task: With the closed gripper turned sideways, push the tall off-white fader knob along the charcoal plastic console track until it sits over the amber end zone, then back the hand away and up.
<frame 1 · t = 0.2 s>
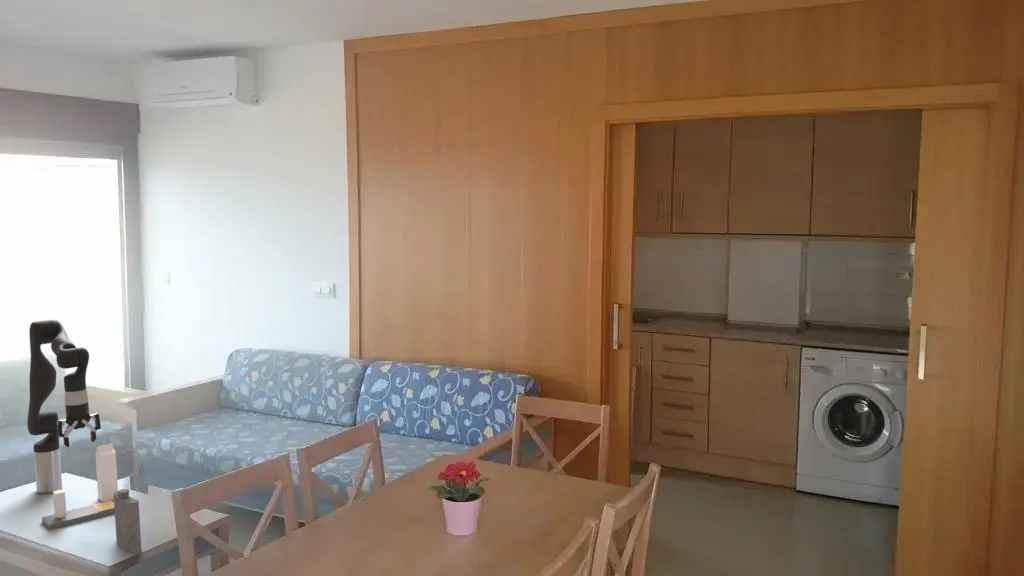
hand: (80, 443, 299), 29 cm above the table, tool pointing down, fingers open, 8 cm apart
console: (84, 516, 305), on the table
hip flask: (127, 546, 278), on the table
milk: (108, 498, 324), on the table
fader: (59, 503, 298), point 7 cm above the table, slide at 0.0 cm
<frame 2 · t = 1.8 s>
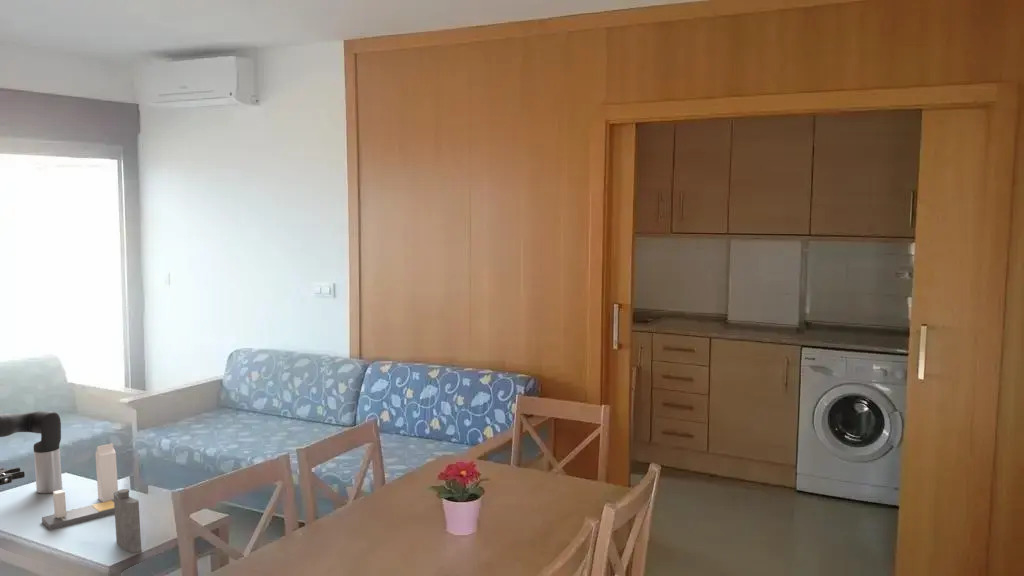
hand: (21, 472, 289), 22 cm above the table, tool horizontal, fingers open, 5 cm apart
nothing on the table moved.
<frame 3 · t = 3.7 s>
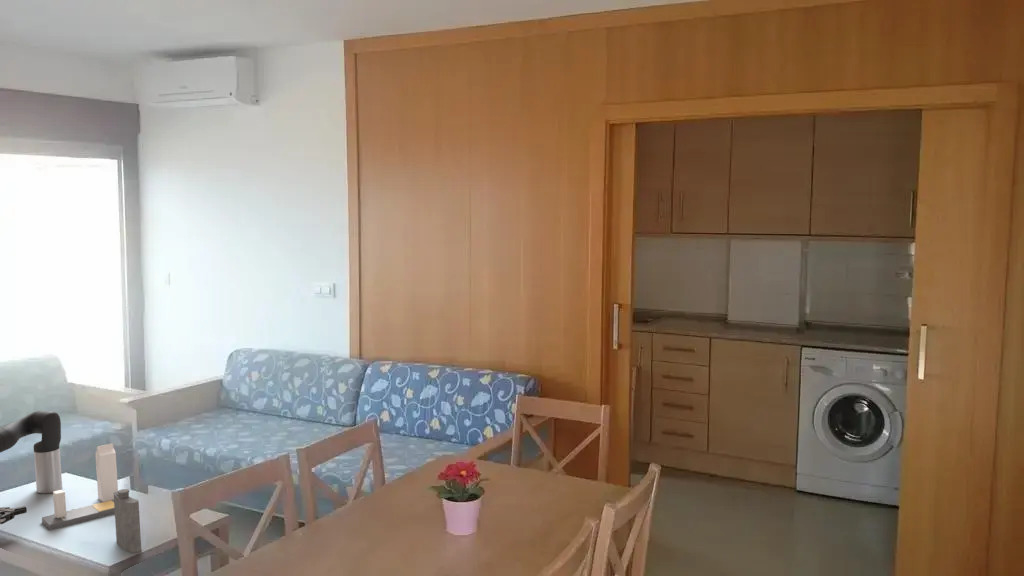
hand: (26, 509, 291), 8 cm above the table, tool horizontal, fingers closed
nothing on the table moved.
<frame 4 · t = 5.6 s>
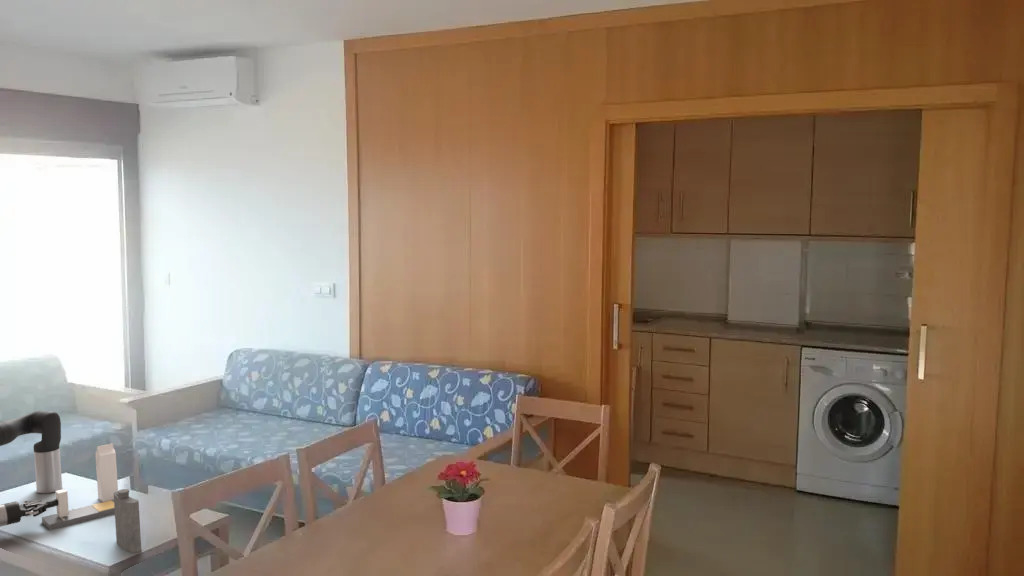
hand: (57, 502, 298), 8 cm above the table, tool horizontal, fingers closed
fader: (62, 503, 299), point 7 cm above the table, slide at 0.8 cm, touching gripper
everything else where it was.
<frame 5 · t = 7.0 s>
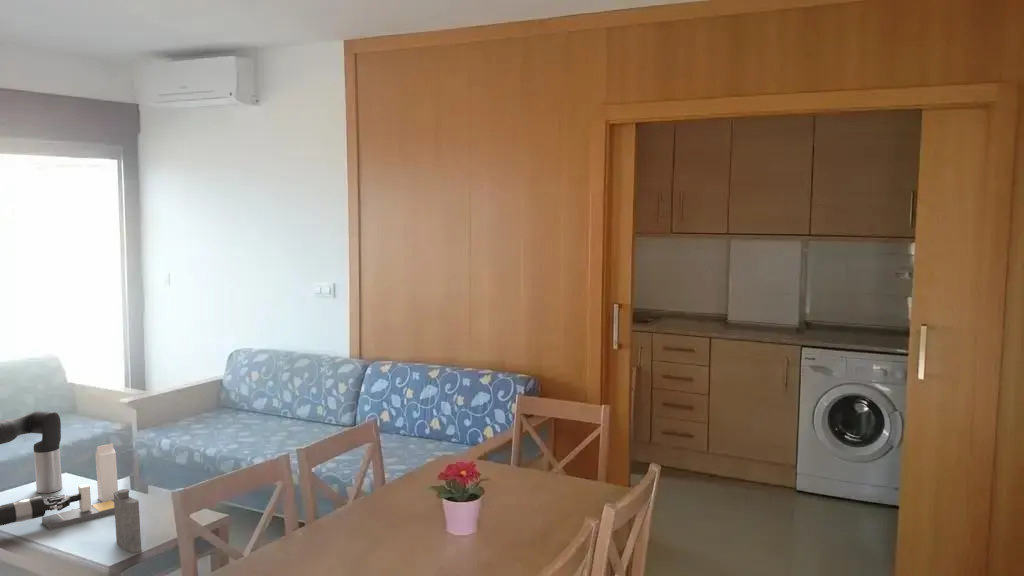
hand: (80, 496, 303), 8 cm above the table, tool horizontal, fingers closed
fader: (84, 497, 304), point 7 cm above the table, slide at 8.6 cm, touching gripper
everything else where it was.
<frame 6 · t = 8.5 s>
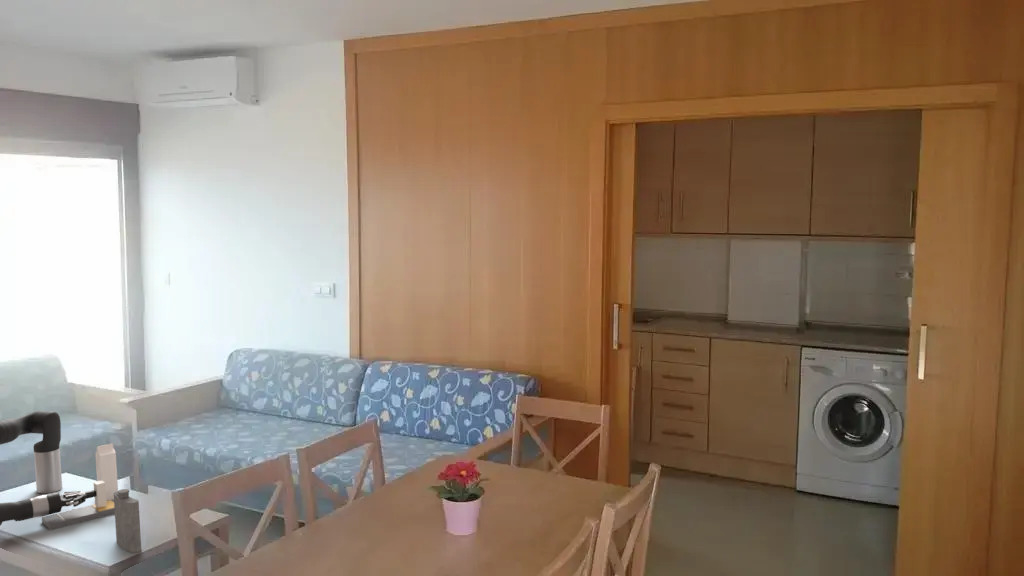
hand: (95, 493, 307), 8 cm above the table, tool horizontal, fingers closed
fader: (100, 494, 308), point 7 cm above the table, slide at 14.0 cm, touching gripper
everything else where it was.
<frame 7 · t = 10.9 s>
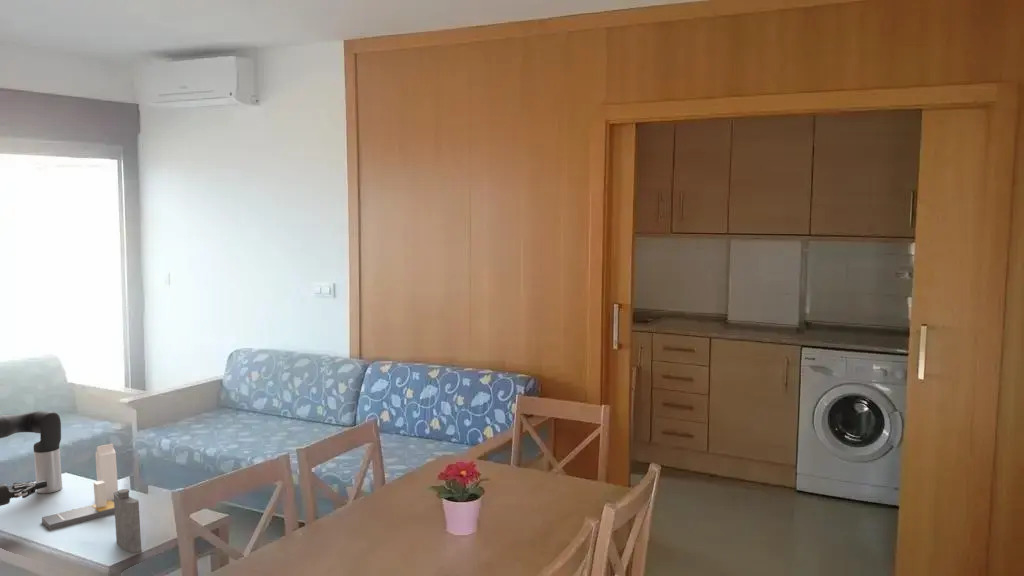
hand: (46, 483, 298), 15 cm above the table, tool horizontal, fingers closed
fader: (100, 494, 308), point 7 cm above the table, slide at 14.0 cm
everything else where it was.
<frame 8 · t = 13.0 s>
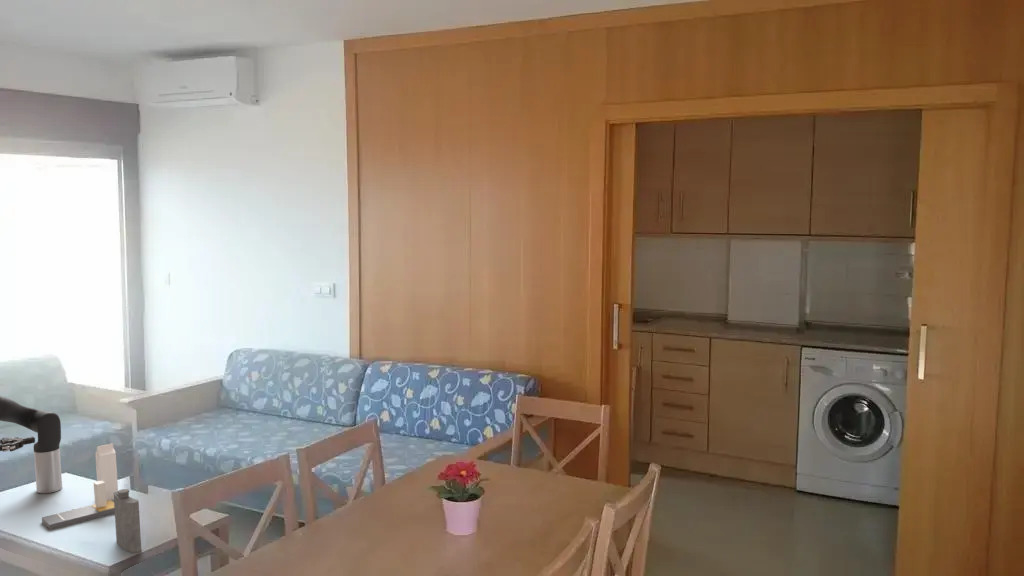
hand: (34, 439, 302), 30 cm above the table, tool horizontal, fingers closed
nothing on the table moved.
at the end: fader slide at 14.0 cm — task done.
